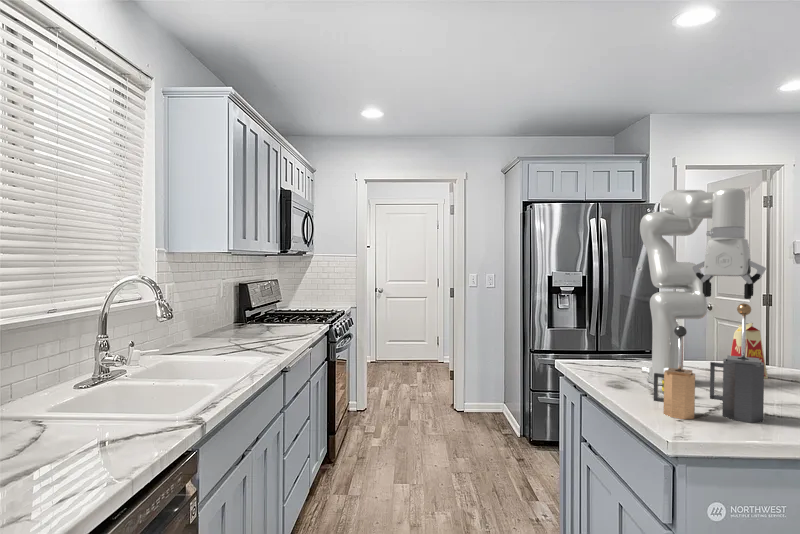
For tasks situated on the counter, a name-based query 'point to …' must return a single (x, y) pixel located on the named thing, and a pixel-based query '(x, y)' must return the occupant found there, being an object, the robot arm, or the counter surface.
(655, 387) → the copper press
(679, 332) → the grey ball handle
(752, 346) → the milk carton
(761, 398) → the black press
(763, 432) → the counter surface
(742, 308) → the plunger rod
